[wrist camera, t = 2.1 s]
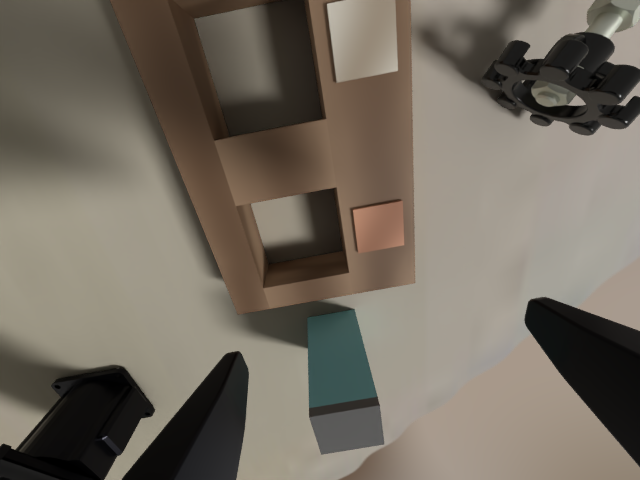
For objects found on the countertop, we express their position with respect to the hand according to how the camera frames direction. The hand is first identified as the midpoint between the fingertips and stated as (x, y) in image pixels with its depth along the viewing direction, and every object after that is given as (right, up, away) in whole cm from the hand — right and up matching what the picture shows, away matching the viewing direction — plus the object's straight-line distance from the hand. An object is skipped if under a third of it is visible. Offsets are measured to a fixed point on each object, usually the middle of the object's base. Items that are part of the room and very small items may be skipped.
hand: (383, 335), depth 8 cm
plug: (-1, -5, +14) cm, 15 cm away
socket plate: (-3, +8, +8) cm, 12 cm away
